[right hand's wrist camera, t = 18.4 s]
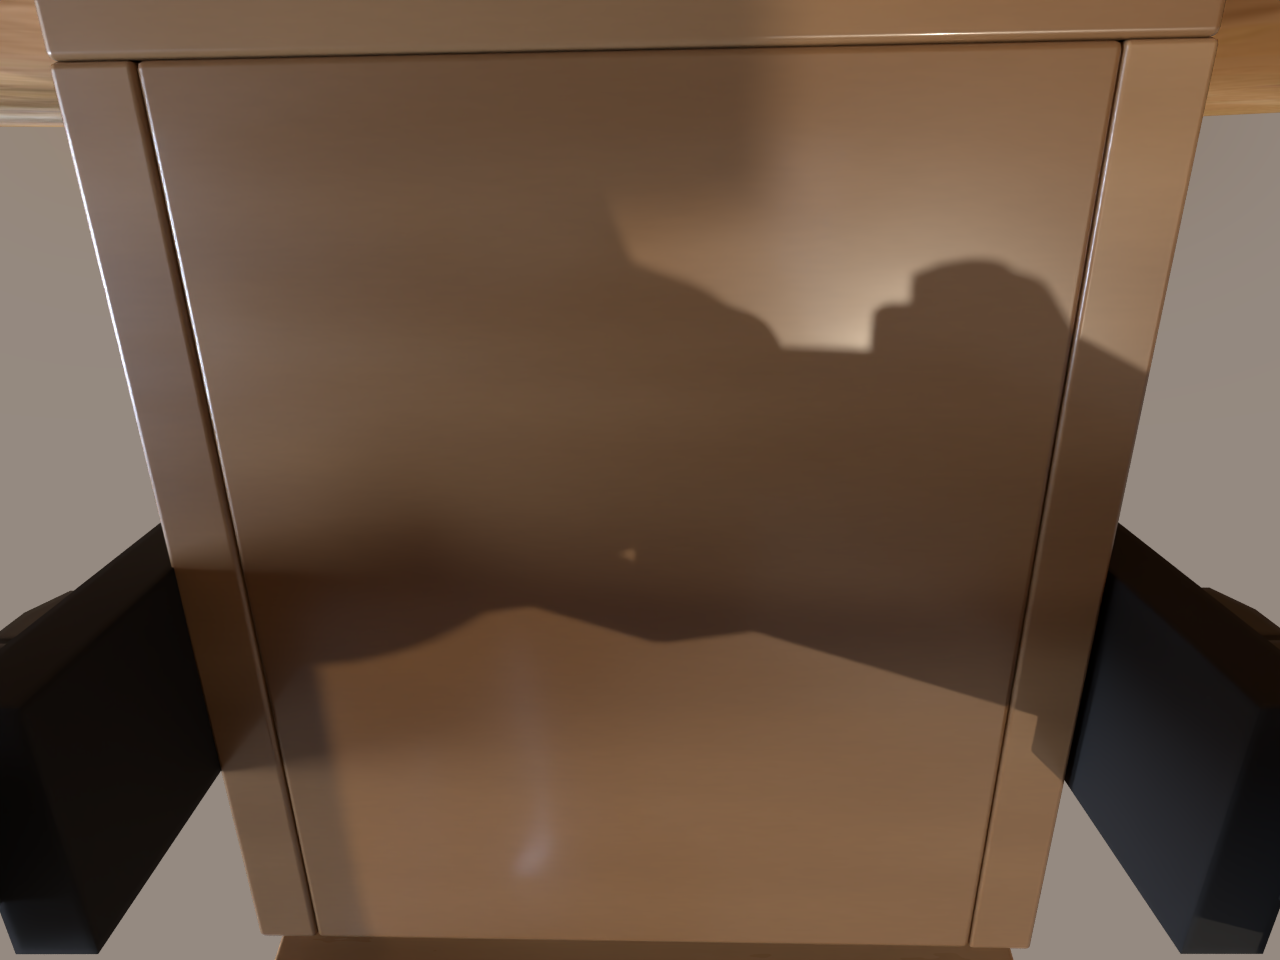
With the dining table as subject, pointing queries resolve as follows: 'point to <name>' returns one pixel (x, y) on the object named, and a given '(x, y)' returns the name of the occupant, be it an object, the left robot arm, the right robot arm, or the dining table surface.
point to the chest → (638, 436)
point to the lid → (604, 950)
